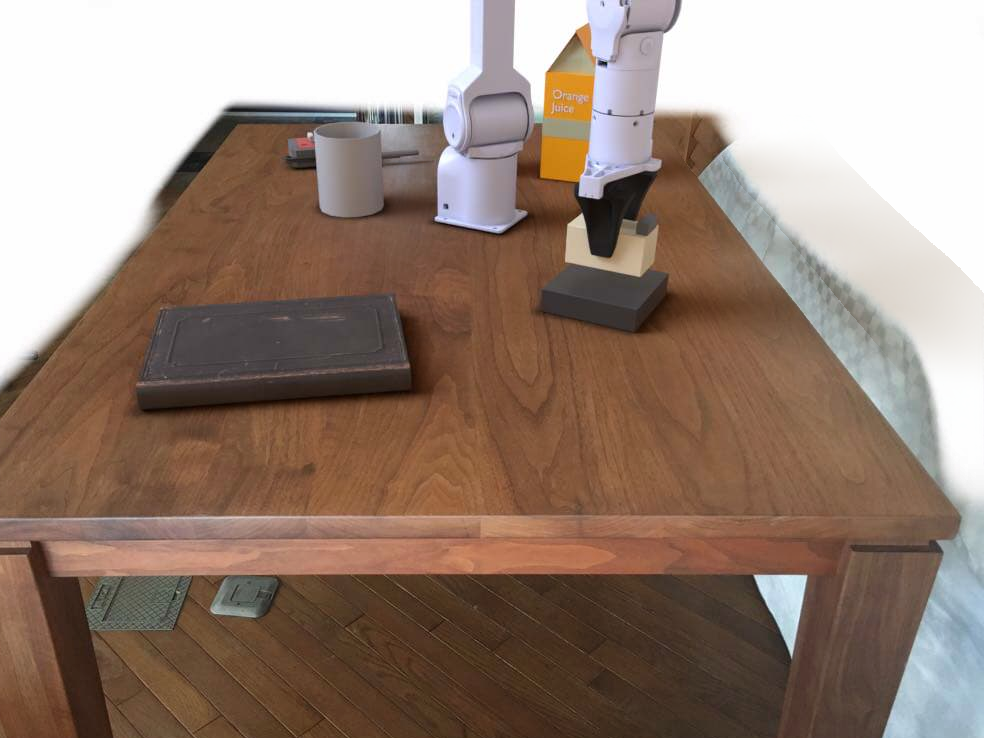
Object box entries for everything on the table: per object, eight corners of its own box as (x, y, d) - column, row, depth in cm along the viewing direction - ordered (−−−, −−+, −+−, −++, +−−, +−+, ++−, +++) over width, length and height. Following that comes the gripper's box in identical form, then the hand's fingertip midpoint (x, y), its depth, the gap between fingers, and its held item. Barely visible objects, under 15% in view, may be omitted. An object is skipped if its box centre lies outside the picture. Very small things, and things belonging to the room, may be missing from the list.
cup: (308, 212, 117) (301, 135, 112) (338, 193, 124) (333, 119, 119) (366, 220, 115) (362, 141, 109) (393, 200, 121) (391, 125, 116)
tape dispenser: (564, 262, 91) (569, 199, 88) (580, 248, 94) (585, 187, 91) (640, 277, 88) (648, 212, 85) (654, 262, 91) (662, 199, 88)
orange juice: (539, 177, 129) (546, 28, 119) (556, 160, 136) (565, 18, 126) (592, 184, 127) (604, 32, 116) (607, 166, 134) (620, 22, 123)
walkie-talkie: (286, 174, 131) (420, 163, 135) (283, 143, 129) (419, 134, 133) (281, 157, 139) (408, 148, 143) (278, 128, 136) (407, 119, 140)
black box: (540, 311, 92) (541, 288, 91) (577, 276, 99) (579, 255, 98) (634, 332, 88) (637, 309, 86) (666, 295, 95) (669, 273, 94)
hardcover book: (164, 328, 89) (160, 307, 88) (395, 313, 92) (394, 292, 90) (139, 413, 76) (134, 389, 74) (411, 393, 78) (411, 370, 77)
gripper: (638, 132, 76) (623, 281, 83) (688, 97, 87) (670, 231, 94) (561, 122, 79) (552, 266, 86) (619, 89, 90) (607, 220, 97)
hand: (609, 247), depth 90 cm, fingers closed on tape dispenser, 4 cm apart
